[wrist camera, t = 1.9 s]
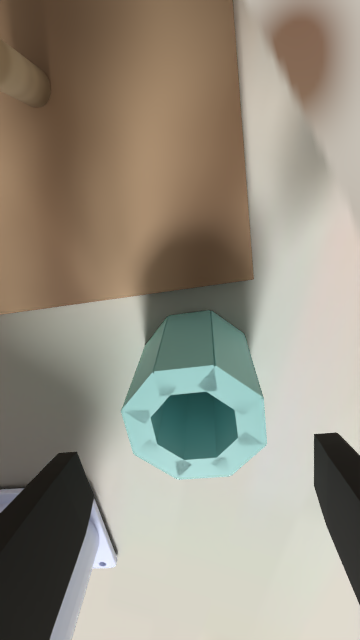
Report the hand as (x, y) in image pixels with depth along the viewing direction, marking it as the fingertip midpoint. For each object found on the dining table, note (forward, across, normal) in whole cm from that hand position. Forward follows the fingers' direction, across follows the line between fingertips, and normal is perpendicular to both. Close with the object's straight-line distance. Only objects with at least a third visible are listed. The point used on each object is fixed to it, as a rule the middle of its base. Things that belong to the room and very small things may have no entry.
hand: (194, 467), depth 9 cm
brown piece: (+7, +4, -12) cm, 14 cm away
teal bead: (+7, 0, 0) cm, 7 cm away
